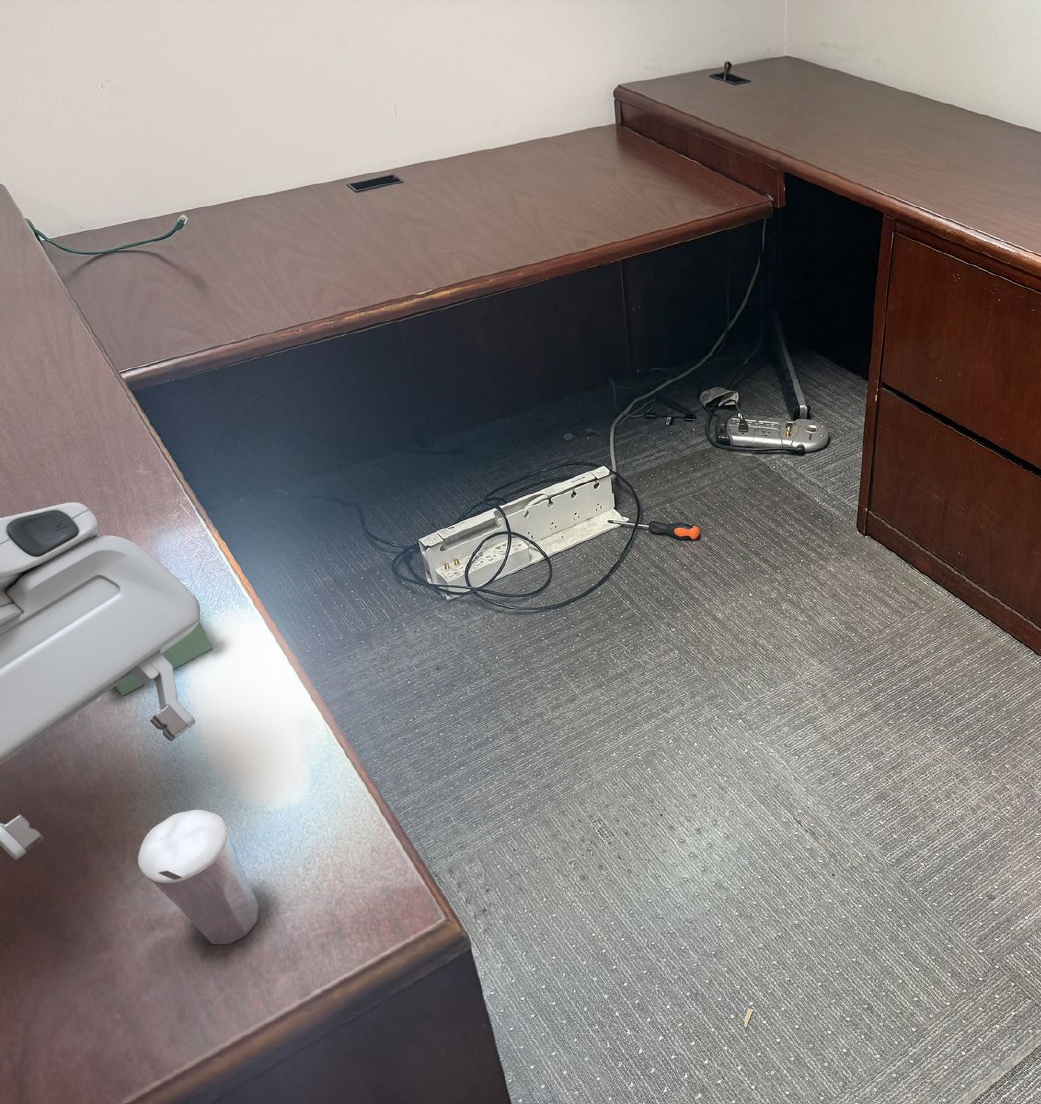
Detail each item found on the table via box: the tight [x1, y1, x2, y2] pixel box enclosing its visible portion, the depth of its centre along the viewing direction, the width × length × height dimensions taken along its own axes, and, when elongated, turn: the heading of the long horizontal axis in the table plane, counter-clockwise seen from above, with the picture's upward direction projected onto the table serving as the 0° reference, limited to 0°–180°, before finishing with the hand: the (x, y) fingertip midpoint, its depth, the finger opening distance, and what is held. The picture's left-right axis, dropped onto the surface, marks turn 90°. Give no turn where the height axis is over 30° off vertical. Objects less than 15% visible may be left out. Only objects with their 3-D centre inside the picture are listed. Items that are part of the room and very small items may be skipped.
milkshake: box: [137, 809, 260, 945], centre depth 58 cm, size 4×5×10 cm
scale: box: [115, 620, 214, 696], centre depth 79 cm, size 7×9×4 cm
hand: (111, 787), depth 57 cm, fingers open, 8 cm apart
